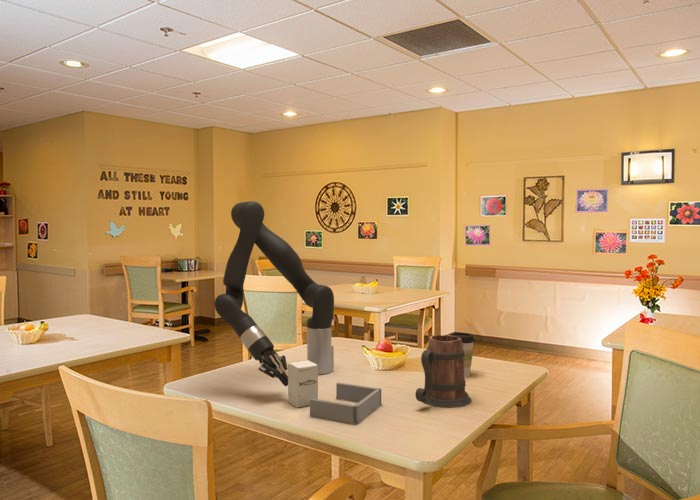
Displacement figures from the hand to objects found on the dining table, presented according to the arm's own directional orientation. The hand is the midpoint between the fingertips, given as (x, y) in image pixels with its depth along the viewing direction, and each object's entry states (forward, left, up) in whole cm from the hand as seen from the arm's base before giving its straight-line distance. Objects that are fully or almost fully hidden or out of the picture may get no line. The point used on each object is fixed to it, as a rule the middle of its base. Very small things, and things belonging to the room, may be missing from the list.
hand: (288, 384), depth 171 cm
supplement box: (-3, +5, -5) cm, 8 cm away
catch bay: (-10, +17, -5) cm, 21 cm away
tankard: (-39, +28, -6) cm, 48 cm away
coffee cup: (-66, +11, -5) cm, 67 cm away
